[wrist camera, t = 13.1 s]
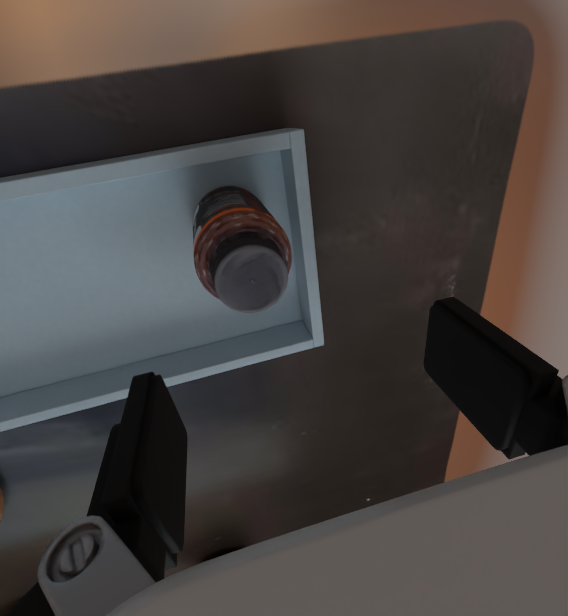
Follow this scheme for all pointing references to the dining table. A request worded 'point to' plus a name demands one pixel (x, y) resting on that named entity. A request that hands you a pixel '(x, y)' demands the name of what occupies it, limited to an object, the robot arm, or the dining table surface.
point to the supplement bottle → (240, 250)
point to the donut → (1, 503)
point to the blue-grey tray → (140, 274)
